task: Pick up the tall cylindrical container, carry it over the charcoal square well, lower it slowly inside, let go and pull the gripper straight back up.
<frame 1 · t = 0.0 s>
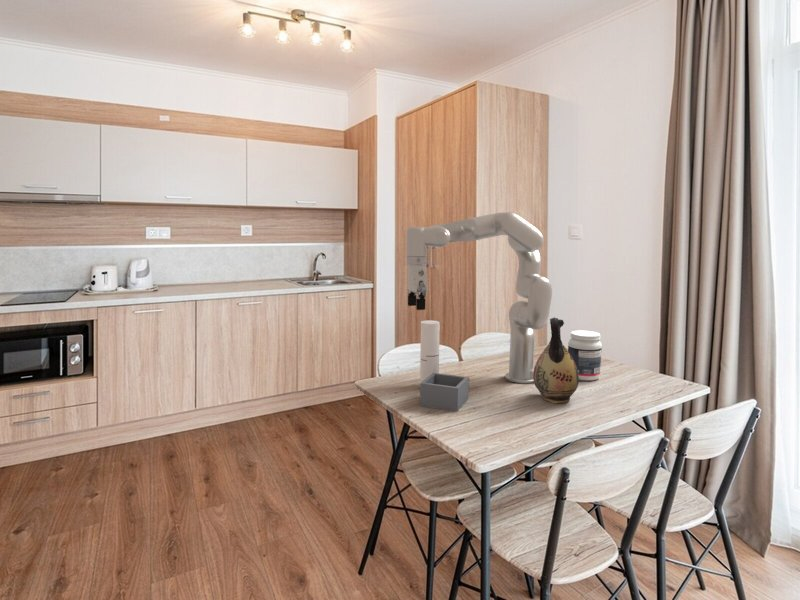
hand: (416, 307, 180), 31 cm above the table, tool pointing down, fingers open, 9 cm apart
ceramic jug: (554, 400, 174), on the table
cylindrical container: (429, 386, 189), on the table
supplement tub: (583, 377, 201), on the table
square well: (444, 402, 171), on the table
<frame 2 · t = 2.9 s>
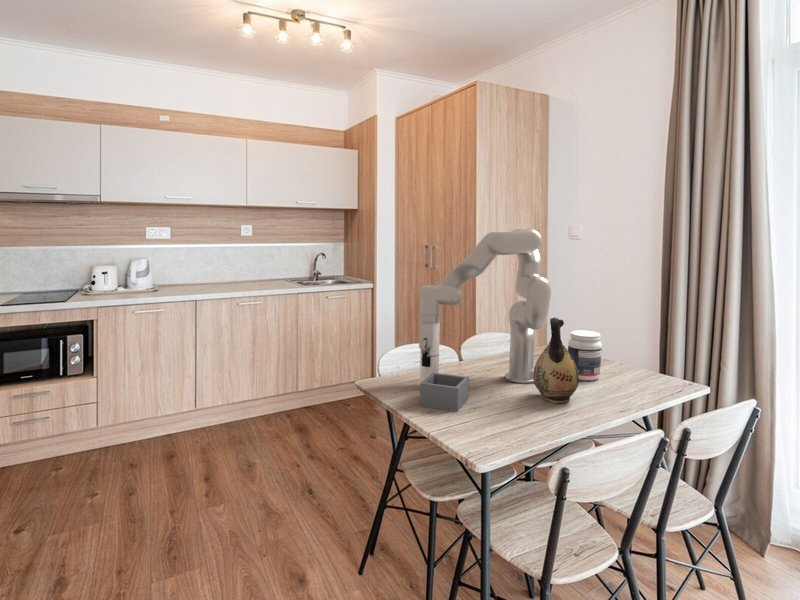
hand: (429, 363, 188), 9 cm above the table, tool pointing down, fingers closed on cylindrical container, 7 cm apart
cylindrical container: (429, 386, 189), on the table, touching gripper
everything else where it was.
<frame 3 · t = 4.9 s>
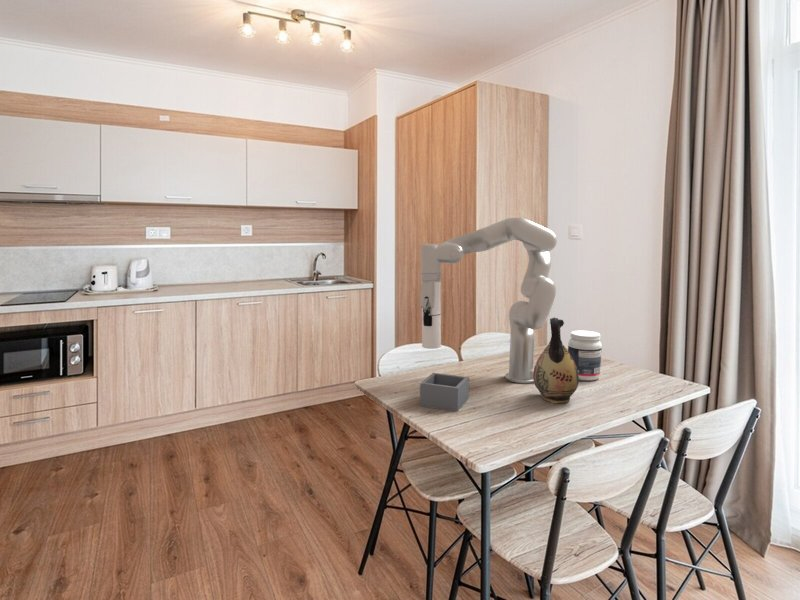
hand: (431, 323, 185), 24 cm above the table, tool pointing down, fingers closed on cylindrical container, 7 cm apart
cylindrical container: (431, 346, 187), point 15 cm above the table, touching gripper
everything else where it was.
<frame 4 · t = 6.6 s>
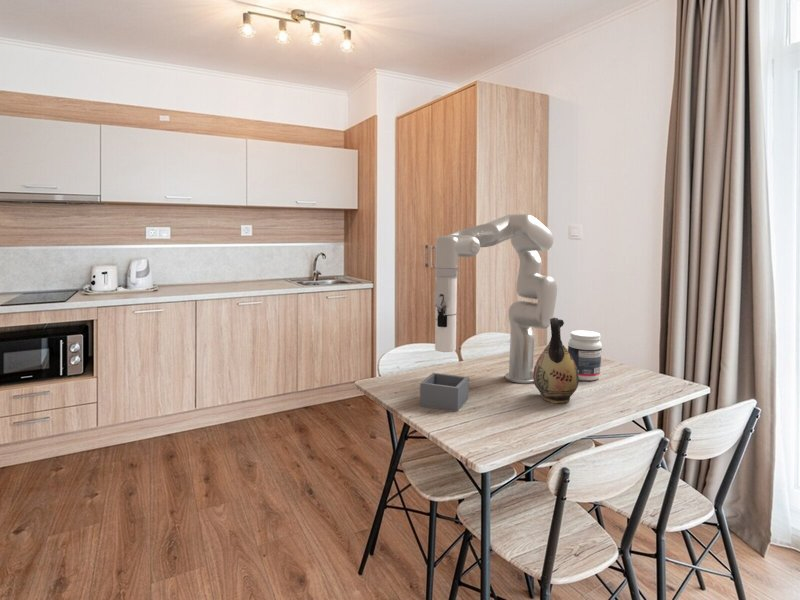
hand: (445, 324, 167), 28 cm above the table, tool pointing down, fingers closed on cylindrical container, 7 cm apart
cylindrical container: (445, 350, 169), point 19 cm above the table, touching gripper
everything else where it was.
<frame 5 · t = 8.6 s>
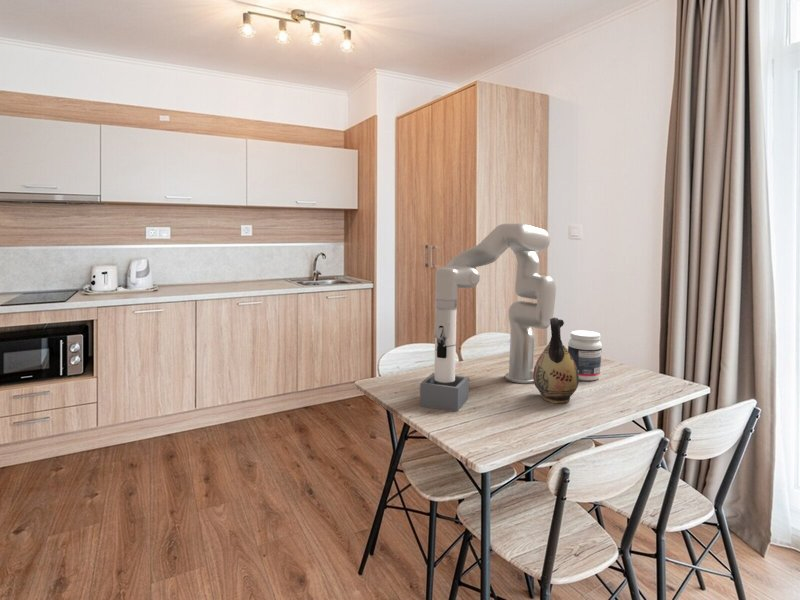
hand: (445, 354, 168), 17 cm above the table, tool pointing down, fingers closed on cylindrical container, 7 cm apart
cylindrical container: (444, 379, 170), point 8 cm above the table, touching gripper
everything else where it was.
when the fingers open (11 cm above the table, at t = 10.4 s): cylindrical container drops 2 cm, resting in square well.
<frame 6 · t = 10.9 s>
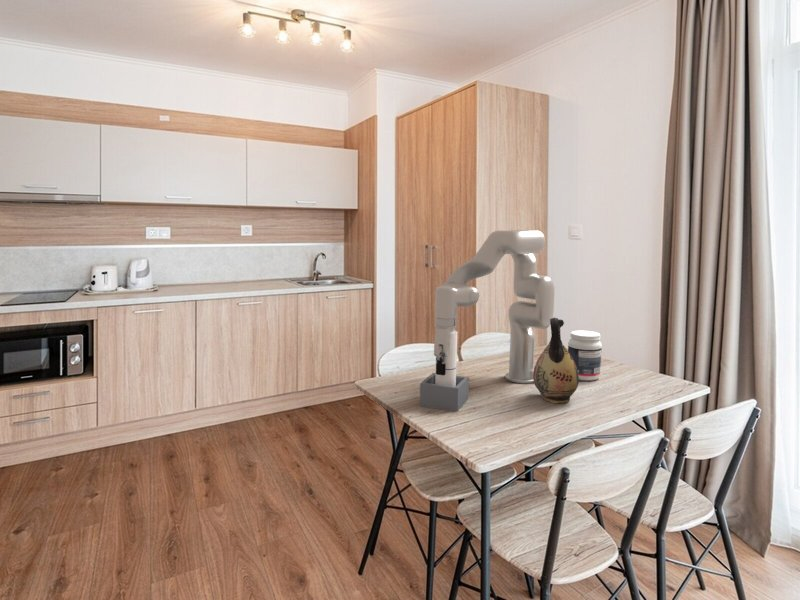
hand: (445, 370, 169), 11 cm above the table, tool pointing down, fingers open, 9 cm apart
cylindrical container: (444, 402, 171), resting in square well
everything else where it was.
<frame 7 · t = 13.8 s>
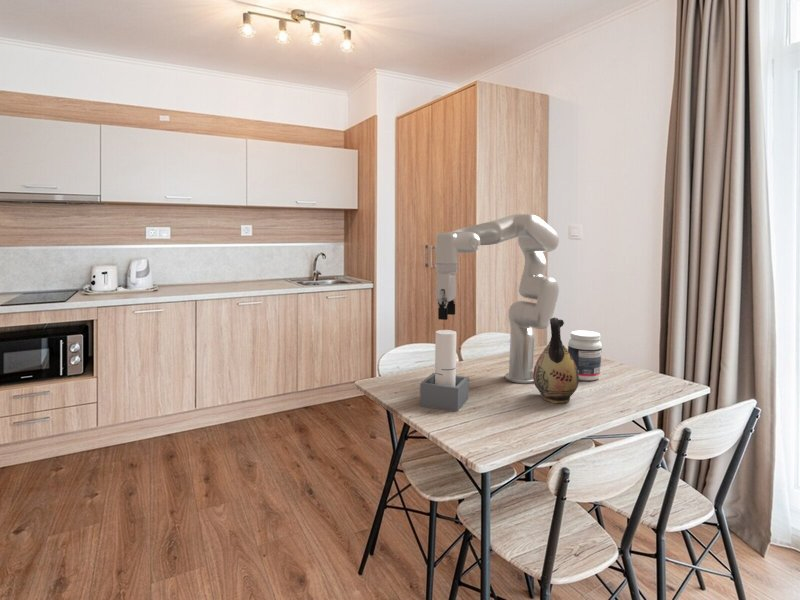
hand: (446, 316, 173), 29 cm above the table, tool pointing down, fingers open, 9 cm apart
nothing on the table moved.
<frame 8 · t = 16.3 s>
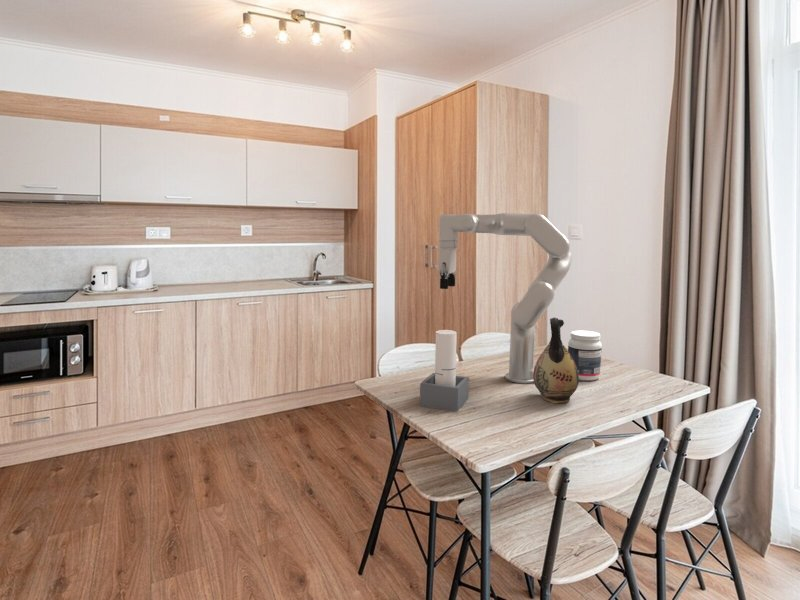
hand: (447, 287, 200), 36 cm above the table, tool pointing down, fingers open, 9 cm apart
nothing on the table moved.
at the end: cylindrical container 0.1 cm off-centre on the square well, point 0.0 cm above the square well's base; cylindrical container tilted 0°; the gripper is holding nothing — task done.
